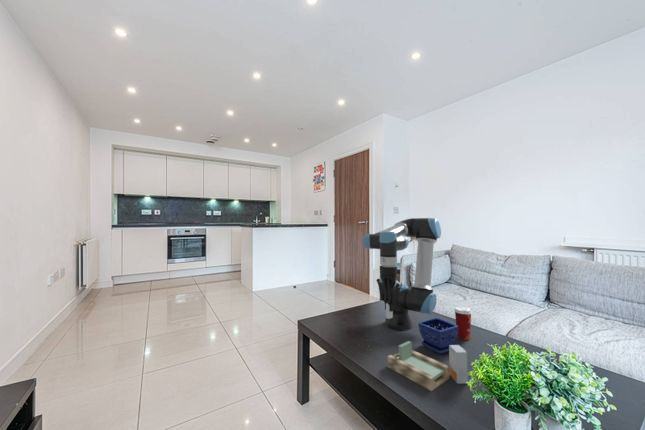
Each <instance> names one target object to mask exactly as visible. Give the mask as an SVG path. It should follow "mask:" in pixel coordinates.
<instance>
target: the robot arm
mask: <svg viewBox="0 0 645 430" xmlns="http://www.w3.org/2000/svg"><path fill="white" fill-rule="evenodd" d="M441 228H442V227H441V225H440V221H439V220H438V219H437V218H435V217H433V218H432V217H418V218H417V217H415V218H413V217H412V218H406V219H403V220H401V221H398V222H396V223H394V225H392V226H391V227H388V228H386V229H383V230H381V231H378V232H375V233H367V234H365V235H364V236H363V237H362V245H363V247H364V248H365V249H369V250H372V249H373V250H379V264H380V266H379V274H380V277H379V278H377V279H376V283H377V285H378V290H379V291H378V292H379V295H380V300H381V301H382V302H384V310H385V326H386V327H387V326H388V327H387V328H389V327H390V328H389V329H392V330H395V331H407V330H410V329H411V328H412V326H413V322H412V319H411V317H410V311H411V312H416V313H421V314H426V315H431V314H432V313H433V312H434V310H435V309H436V305H437V294H436V293H435V292H434V289H433V288H432V286H431V285H432V273H433V272H432V271H433V257H434V244H436V243H437V241H438V239H440V238H441V236H442V229H441ZM409 238H415V241H416V242H417V251H416V263H415V275H414V283H413V284H412V285H411V288H409V286H408V285H407V284H403V282H399V281H398V277H397V275H398V266H397V265H398V254H397V253H398V251H404V250H405V249H406V248H408V246H409V242H410V241H409Z"/></svg>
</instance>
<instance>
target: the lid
mask: <svg viewBox="0 0 645 430" xmlns="http://www.w3.org/2000/svg"><path fill="white" fill-rule="evenodd" d="M412 350H413V342H412V341H410V340H407V341H405V342H403V343H401V344H399V345H398V353H399V356H398V357H396V358H398V359H400V360H402V361H404V362H406V363H408V364H410V365H412V366H414V367H416V368H418V369H420V370H422V371H424V372H426V373H428V374H430V375H432V376H434V380H435V379H437V378H438V377H439V376H441V375H442V374H444V370H443V369H440V368H438V367H436V366H434V365H432V364H430V363H428V362H425V361H423V360H421V359H419V358H417V357H415V356H412Z"/></svg>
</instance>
